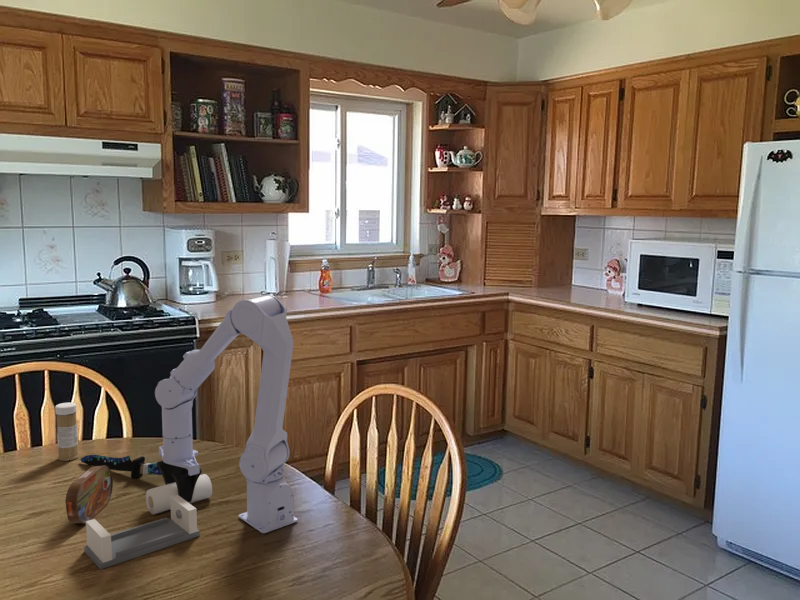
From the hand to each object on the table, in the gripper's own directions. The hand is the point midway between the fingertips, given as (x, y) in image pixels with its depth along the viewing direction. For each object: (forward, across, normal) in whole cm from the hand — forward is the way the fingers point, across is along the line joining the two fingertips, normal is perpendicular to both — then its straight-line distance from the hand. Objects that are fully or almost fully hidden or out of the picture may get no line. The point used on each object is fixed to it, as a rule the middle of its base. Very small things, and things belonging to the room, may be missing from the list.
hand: (179, 498), depth 139 cm
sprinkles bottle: (+2, +42, +9) cm, 43 cm away
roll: (-1, 0, 0) cm, 1 cm away
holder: (+1, -11, +12) cm, 16 cm away
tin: (+2, +8, +15) cm, 17 cm away
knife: (+2, +23, +2) cm, 23 cm away
